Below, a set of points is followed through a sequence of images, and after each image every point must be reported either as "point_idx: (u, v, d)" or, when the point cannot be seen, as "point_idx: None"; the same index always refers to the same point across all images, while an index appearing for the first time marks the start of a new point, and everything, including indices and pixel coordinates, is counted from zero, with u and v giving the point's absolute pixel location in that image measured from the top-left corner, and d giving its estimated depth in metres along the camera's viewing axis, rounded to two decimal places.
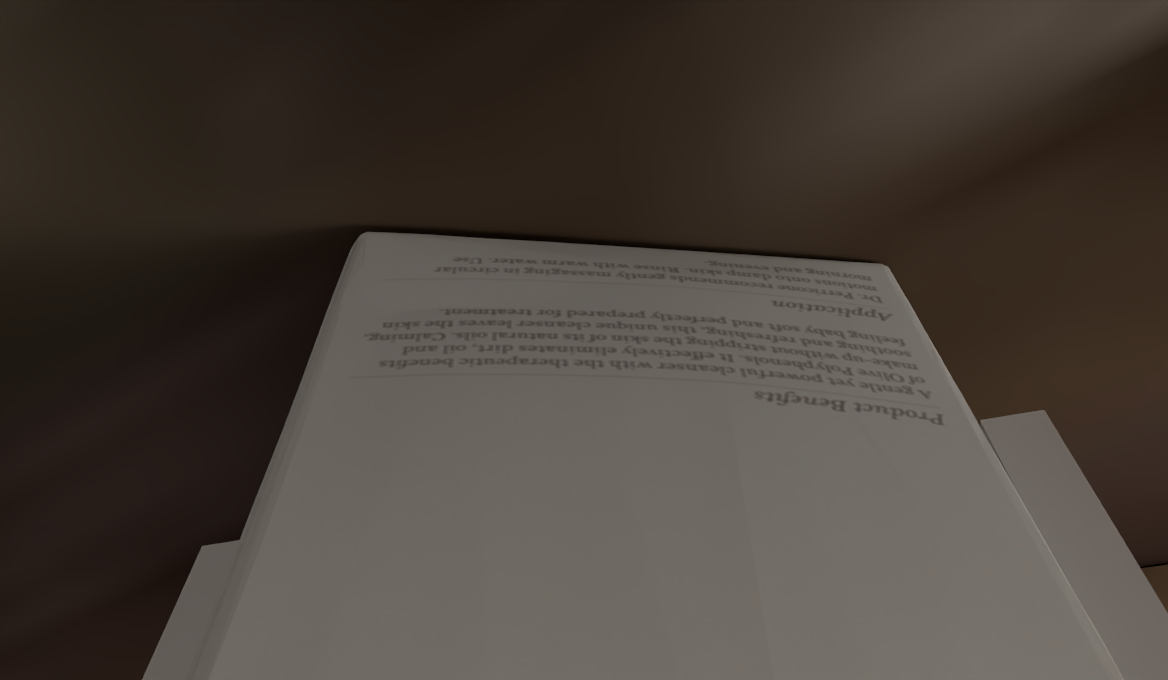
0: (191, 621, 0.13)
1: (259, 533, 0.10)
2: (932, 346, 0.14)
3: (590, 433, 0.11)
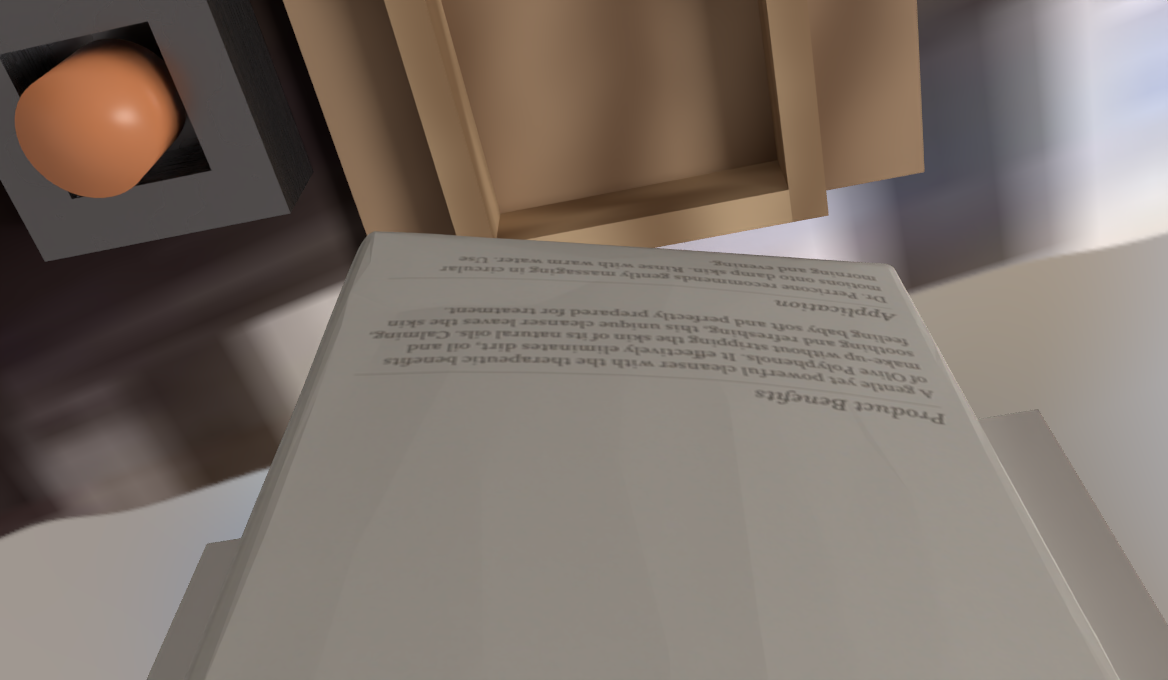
0: (197, 618, 0.13)
1: (262, 527, 0.10)
2: (935, 346, 0.14)
3: (590, 431, 0.11)
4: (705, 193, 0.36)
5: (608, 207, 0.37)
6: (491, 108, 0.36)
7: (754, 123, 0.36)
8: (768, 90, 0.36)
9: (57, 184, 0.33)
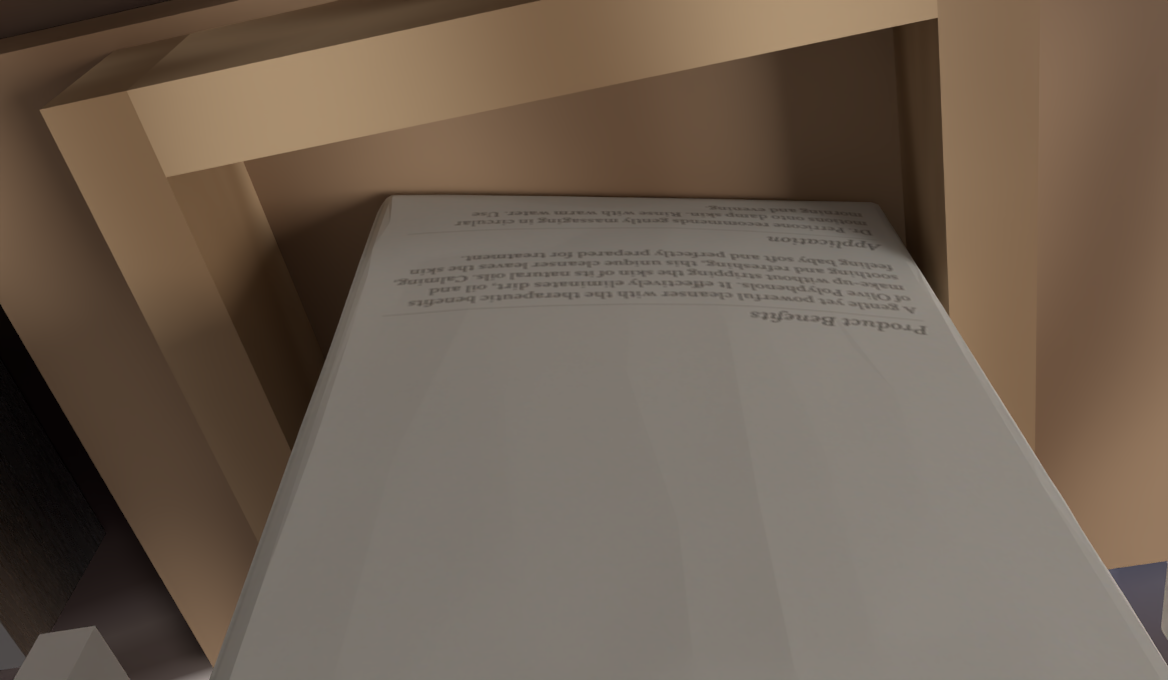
0: None
1: (309, 442, 0.11)
2: (918, 270, 0.15)
3: (601, 352, 0.12)
4: None
5: None
6: None
7: None
8: None
9: None
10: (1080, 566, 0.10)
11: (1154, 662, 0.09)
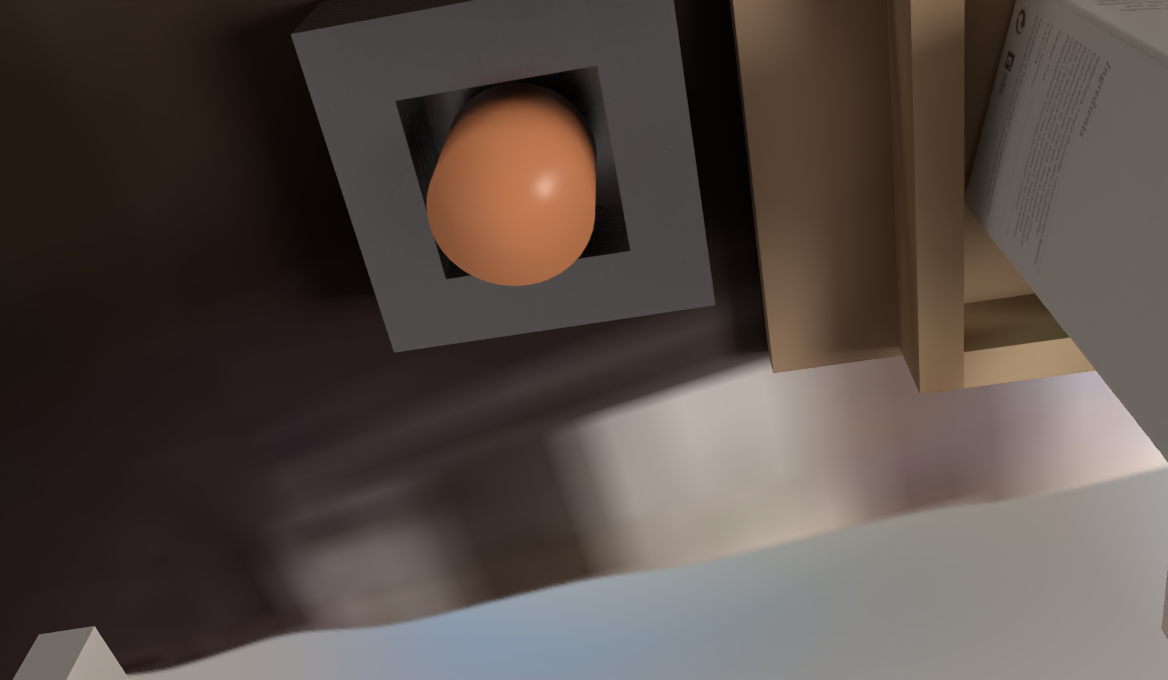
0: None
1: (1150, 47, 0.21)
2: None
3: None
4: None
5: None
6: None
7: None
8: None
9: (462, 267, 0.26)
10: None
11: None
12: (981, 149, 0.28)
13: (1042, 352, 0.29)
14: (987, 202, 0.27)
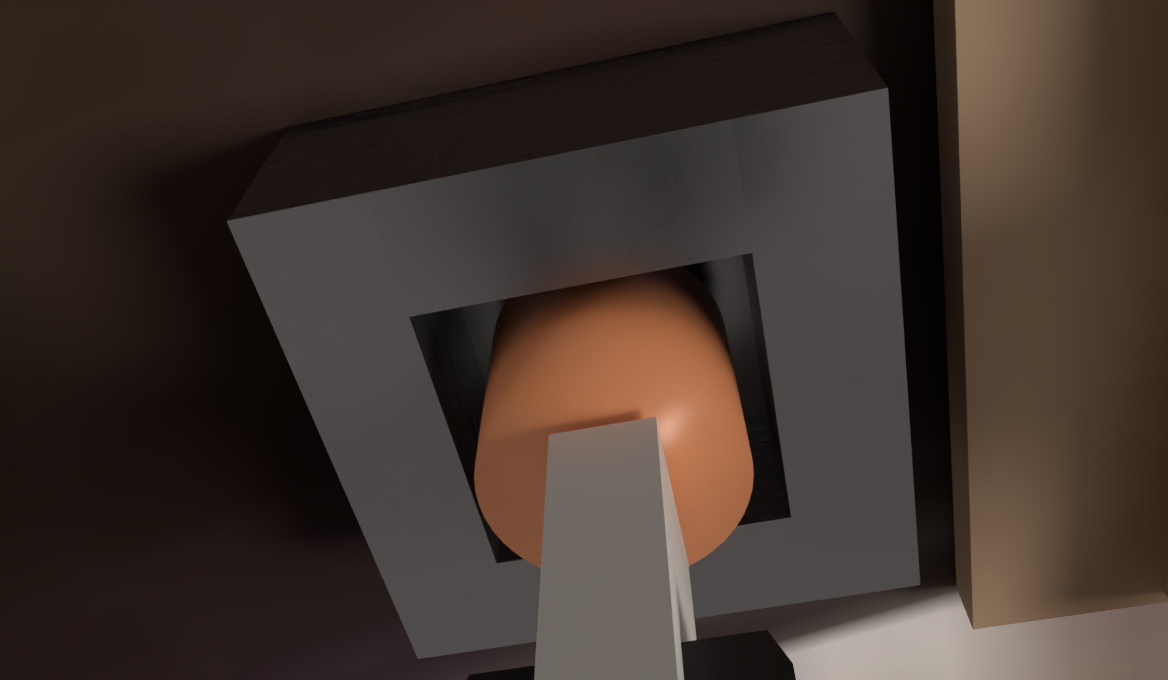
0: (570, 496, 0.13)
1: None
2: None
3: None
4: None
5: None
6: None
7: None
8: None
9: (534, 561, 0.16)
10: None
11: None
12: None
13: None
14: None
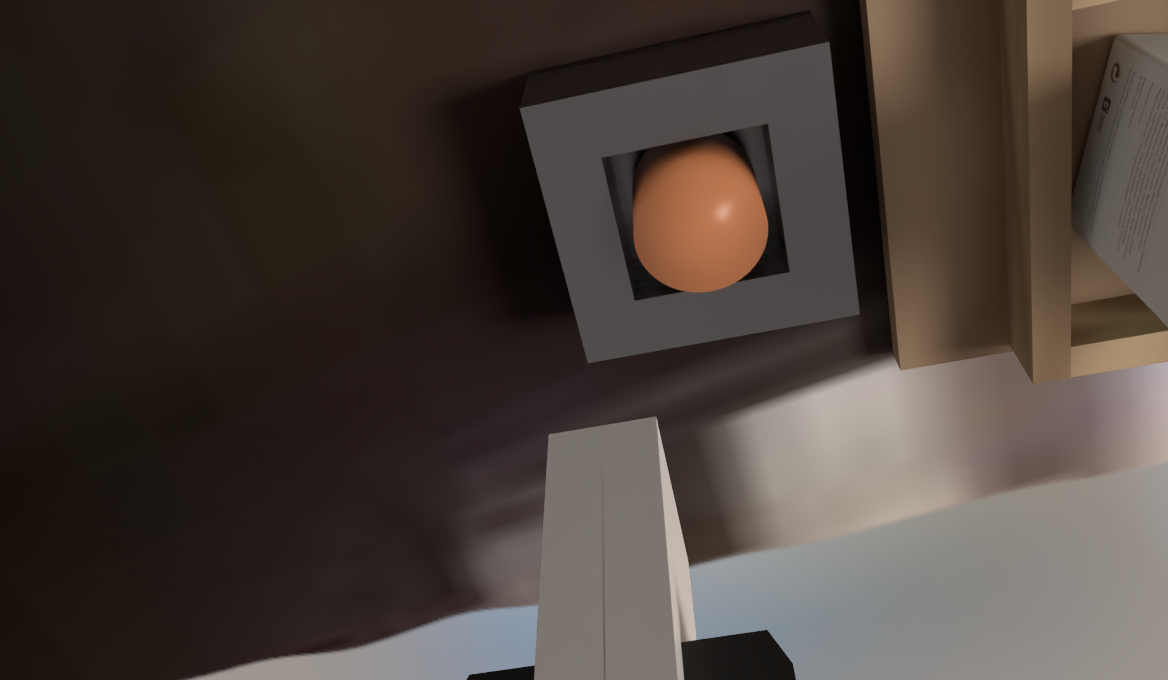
0: (570, 496, 0.13)
1: None
2: None
3: None
4: None
5: None
6: None
7: None
8: None
9: (659, 279, 0.33)
10: None
11: None
12: (1082, 177, 0.33)
13: (1138, 344, 0.34)
14: (1090, 221, 0.33)
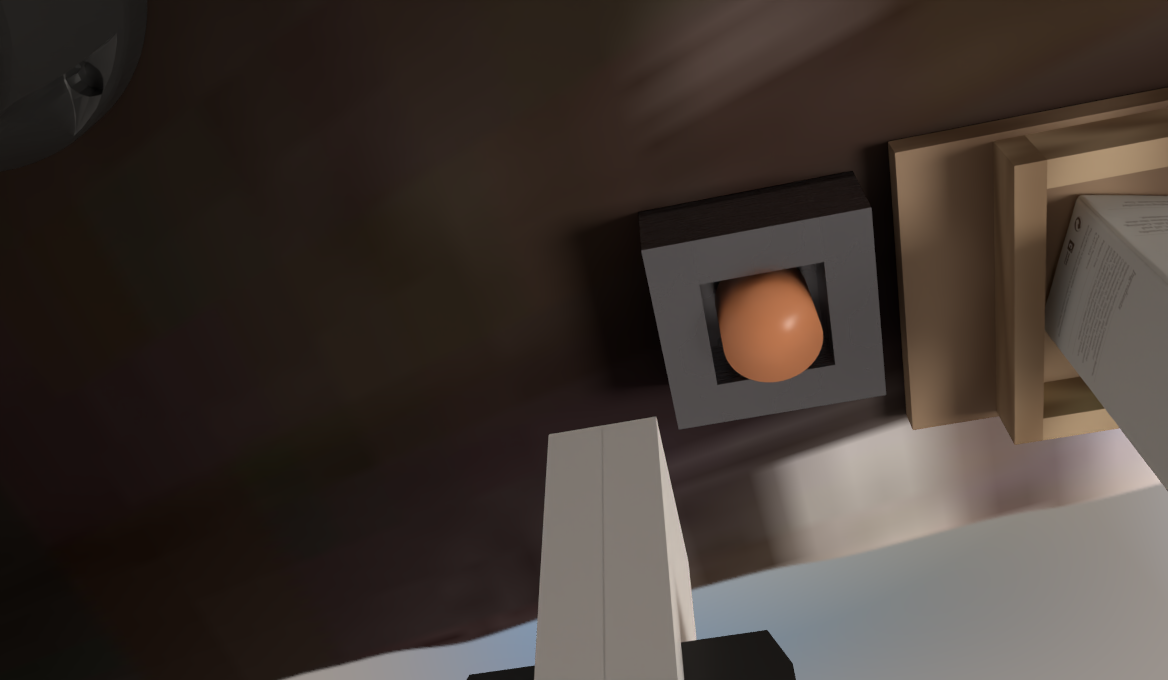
0: (570, 497, 0.13)
1: (1158, 268, 0.37)
2: None
3: None
4: None
5: None
6: None
7: None
8: None
9: (740, 373, 0.44)
10: None
11: None
12: (1052, 294, 0.45)
13: (1093, 416, 0.46)
14: (1058, 329, 0.44)
